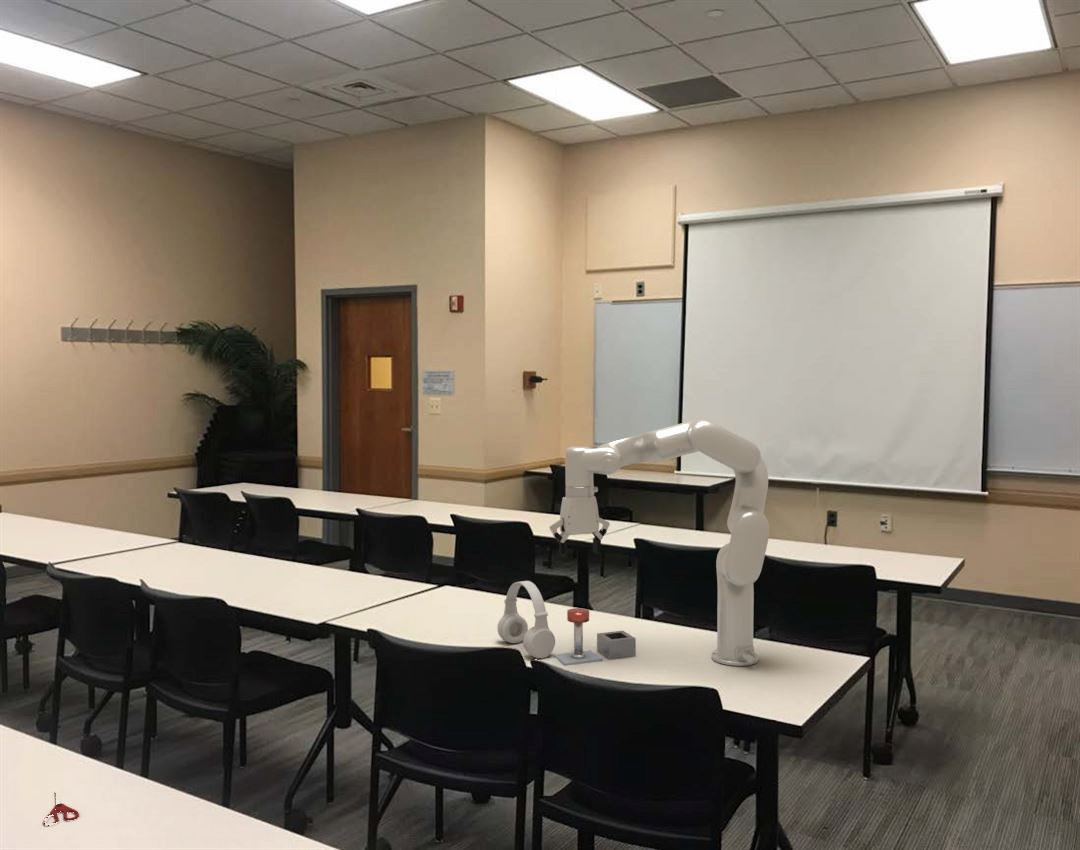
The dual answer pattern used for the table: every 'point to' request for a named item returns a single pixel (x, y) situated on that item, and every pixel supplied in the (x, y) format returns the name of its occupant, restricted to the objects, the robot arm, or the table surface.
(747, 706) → the table surface
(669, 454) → the robot arm
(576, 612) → the red capped metal cylinder
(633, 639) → the eye block
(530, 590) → the headphones
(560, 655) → the pad
